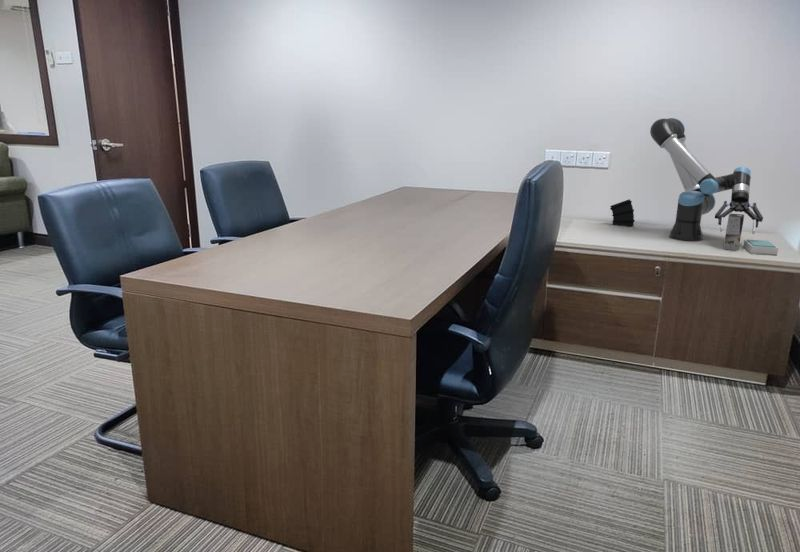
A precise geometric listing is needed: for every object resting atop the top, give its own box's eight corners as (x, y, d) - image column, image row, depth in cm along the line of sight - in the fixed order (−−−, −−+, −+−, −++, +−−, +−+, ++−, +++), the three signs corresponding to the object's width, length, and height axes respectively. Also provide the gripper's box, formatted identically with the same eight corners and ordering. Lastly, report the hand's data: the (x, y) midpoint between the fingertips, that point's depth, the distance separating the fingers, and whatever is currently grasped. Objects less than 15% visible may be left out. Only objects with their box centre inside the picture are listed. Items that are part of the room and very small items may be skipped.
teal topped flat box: (750, 253, 276) (752, 246, 275) (743, 247, 288) (744, 240, 287) (776, 255, 273) (778, 248, 272) (768, 248, 286) (769, 241, 285)
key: (753, 249, 276) (753, 244, 275) (746, 243, 287) (747, 239, 286) (774, 250, 273) (775, 246, 273) (767, 244, 284) (768, 240, 284)
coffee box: (738, 250, 281) (744, 217, 277) (723, 249, 284) (728, 215, 280) (738, 246, 289) (744, 214, 284) (724, 245, 292) (729, 213, 287)
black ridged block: (638, 224, 331) (629, 199, 331) (615, 232, 339) (606, 207, 339) (639, 223, 334) (630, 198, 334) (617, 231, 342) (608, 206, 342)
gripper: (768, 201, 290) (766, 237, 281) (710, 198, 300) (707, 233, 291) (771, 192, 283) (769, 229, 275) (712, 189, 294) (709, 224, 285)
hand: (737, 231), depth 283 cm, fingers open, 13 cm apart
